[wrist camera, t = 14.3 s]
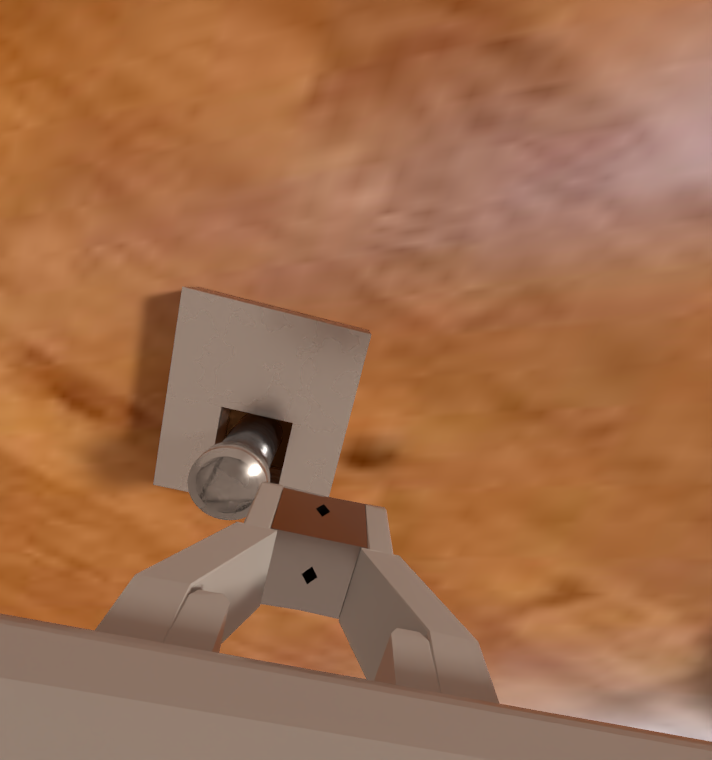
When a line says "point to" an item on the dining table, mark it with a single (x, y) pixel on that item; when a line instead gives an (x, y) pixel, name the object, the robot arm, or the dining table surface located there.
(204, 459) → the flashlight
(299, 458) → the jig
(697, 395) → the dining table surface
